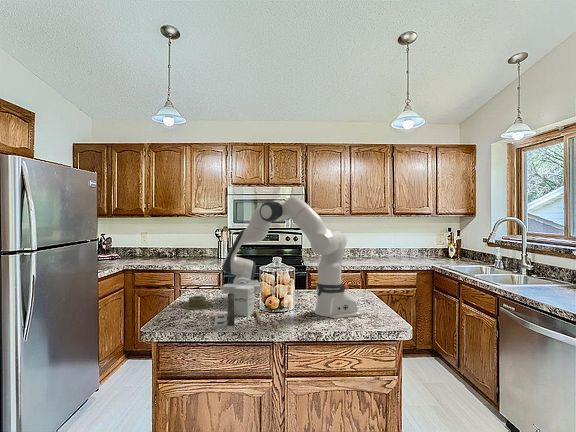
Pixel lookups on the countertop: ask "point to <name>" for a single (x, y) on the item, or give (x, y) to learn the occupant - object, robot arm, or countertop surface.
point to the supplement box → (243, 300)
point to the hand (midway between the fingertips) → (242, 291)
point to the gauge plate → (220, 321)
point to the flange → (197, 303)
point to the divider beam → (231, 310)
